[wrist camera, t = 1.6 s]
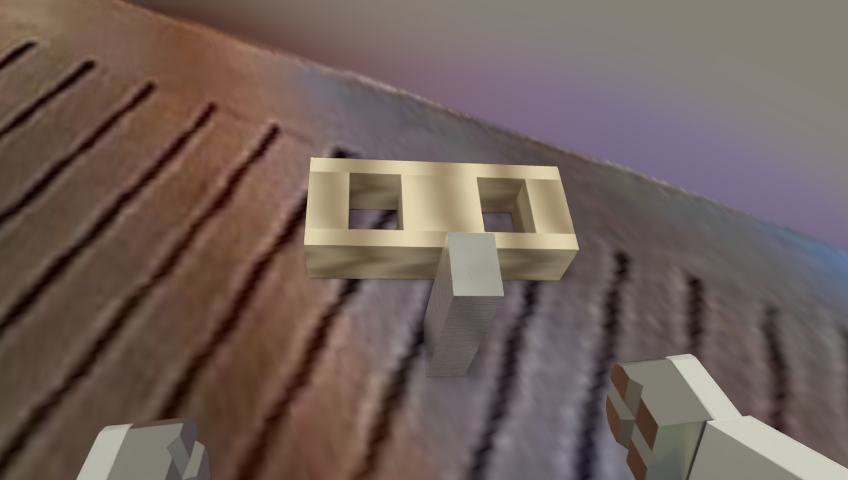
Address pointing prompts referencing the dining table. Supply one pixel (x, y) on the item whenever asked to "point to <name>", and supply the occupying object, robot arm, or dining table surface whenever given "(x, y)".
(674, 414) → the robot arm
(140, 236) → the dining table surface
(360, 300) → the dining table surface
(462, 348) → the grey square pillar
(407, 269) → the hollow cinder block
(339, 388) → the dining table surface
